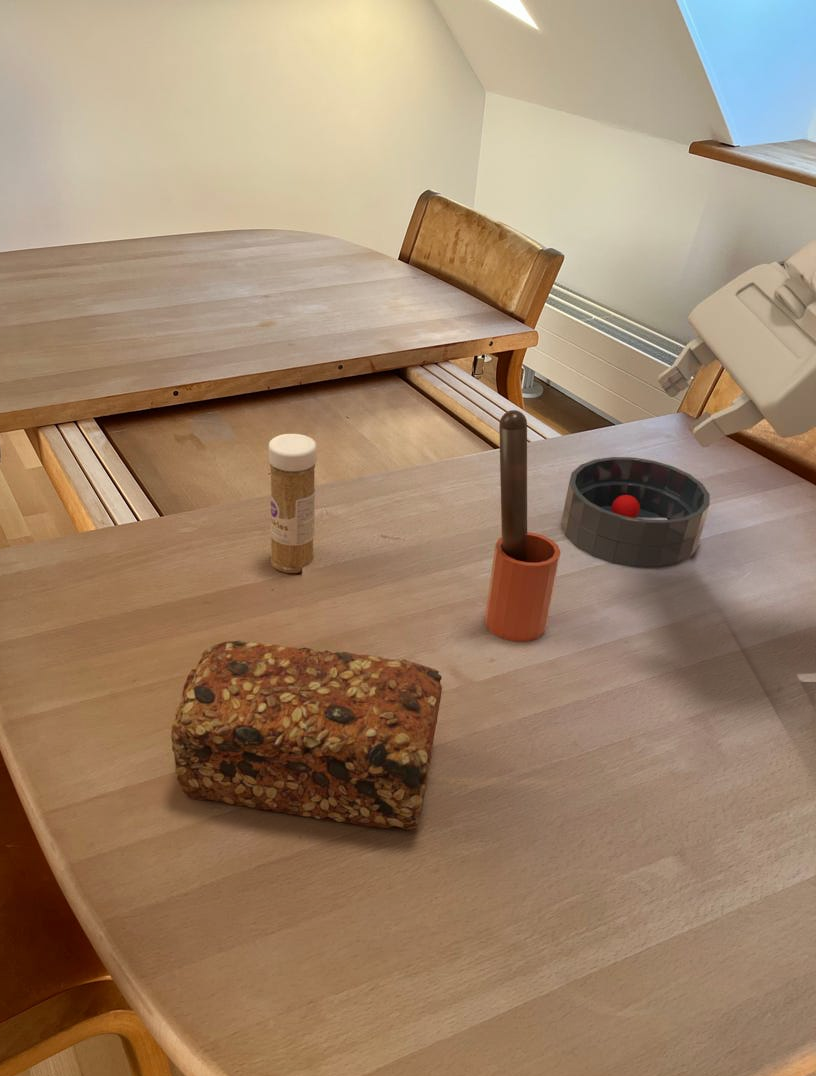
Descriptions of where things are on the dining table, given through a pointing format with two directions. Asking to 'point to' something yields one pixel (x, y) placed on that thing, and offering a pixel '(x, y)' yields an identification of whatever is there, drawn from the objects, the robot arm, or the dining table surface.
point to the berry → (626, 506)
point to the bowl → (635, 538)
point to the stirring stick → (513, 484)
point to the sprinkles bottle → (292, 501)
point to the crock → (522, 590)
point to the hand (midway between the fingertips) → (678, 412)
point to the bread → (308, 732)
